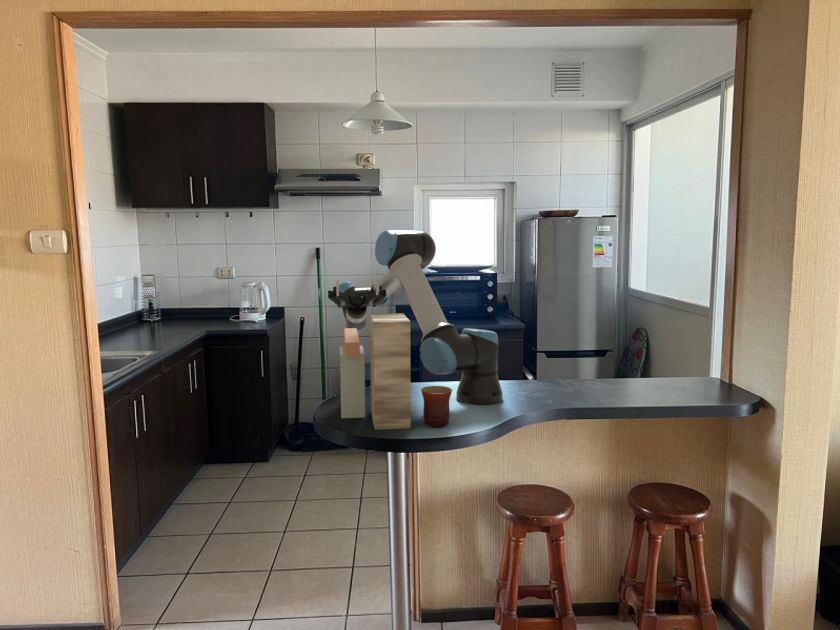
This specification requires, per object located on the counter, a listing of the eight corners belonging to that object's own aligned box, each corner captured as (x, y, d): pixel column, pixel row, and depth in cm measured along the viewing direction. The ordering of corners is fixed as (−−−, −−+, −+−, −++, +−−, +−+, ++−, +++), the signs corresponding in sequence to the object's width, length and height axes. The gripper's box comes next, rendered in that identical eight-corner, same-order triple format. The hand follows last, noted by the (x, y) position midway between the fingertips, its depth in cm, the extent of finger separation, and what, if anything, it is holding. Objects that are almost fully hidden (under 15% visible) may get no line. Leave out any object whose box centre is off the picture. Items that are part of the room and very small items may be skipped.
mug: (456, 427, 168) (457, 391, 166) (427, 431, 164) (427, 394, 163) (440, 415, 179) (440, 382, 177) (412, 418, 176) (412, 384, 174)
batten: (344, 340, 198) (344, 328, 198) (356, 340, 199) (356, 328, 199) (345, 356, 171) (345, 342, 170) (359, 356, 172) (359, 342, 171)
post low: (340, 405, 190) (340, 346, 187) (363, 404, 191) (362, 345, 188) (341, 418, 176) (340, 354, 174) (365, 417, 177) (364, 354, 175)
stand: (370, 411, 183) (369, 313, 179) (403, 410, 185) (403, 313, 181) (374, 429, 166) (373, 322, 162) (410, 428, 167) (410, 321, 163)
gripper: (390, 318, 222) (395, 292, 202) (322, 320, 218) (320, 294, 199) (389, 299, 225) (393, 273, 205) (322, 301, 221) (320, 274, 202)
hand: (357, 283), depth 202 cm, fingers open, 13 cm apart
